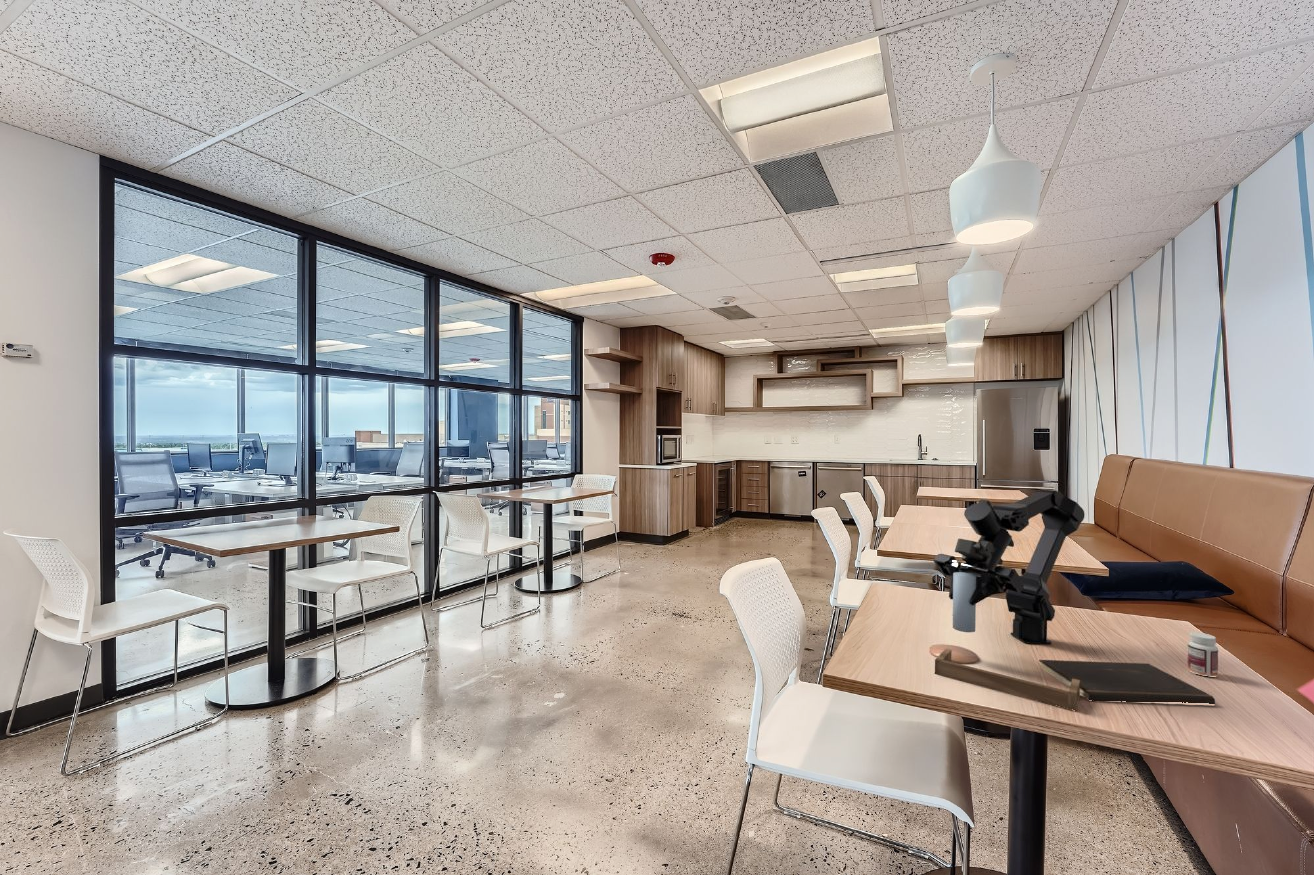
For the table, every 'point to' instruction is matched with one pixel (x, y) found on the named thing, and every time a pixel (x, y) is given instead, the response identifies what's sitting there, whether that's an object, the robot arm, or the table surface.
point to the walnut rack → (1008, 683)
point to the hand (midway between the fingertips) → (960, 601)
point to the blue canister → (963, 602)
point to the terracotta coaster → (955, 653)
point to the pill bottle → (1203, 654)
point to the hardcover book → (1125, 682)
